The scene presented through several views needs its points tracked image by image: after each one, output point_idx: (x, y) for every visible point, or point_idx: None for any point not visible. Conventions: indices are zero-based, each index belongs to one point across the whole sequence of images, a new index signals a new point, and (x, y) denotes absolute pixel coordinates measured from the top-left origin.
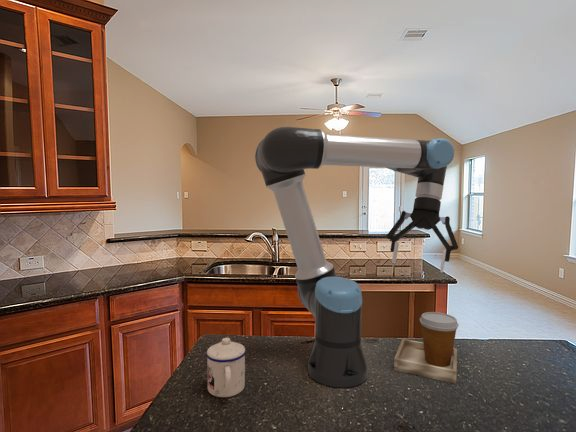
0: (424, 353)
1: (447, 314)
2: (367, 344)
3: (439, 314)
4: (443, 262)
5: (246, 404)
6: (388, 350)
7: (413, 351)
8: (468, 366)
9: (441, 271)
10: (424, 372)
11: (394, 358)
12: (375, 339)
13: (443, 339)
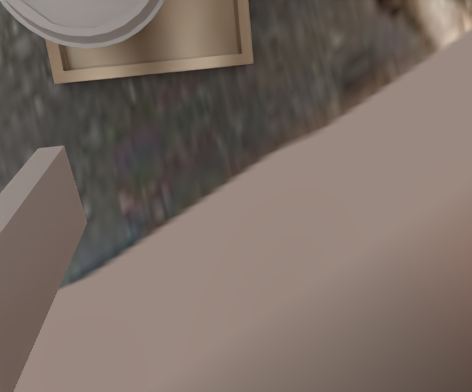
0: (163, 34)
1: (46, 26)
2: (362, 31)
3: (89, 23)
4: (9, 195)
5: None
6: (285, 20)
7: (201, 29)
8: (17, 42)
9: (49, 148)
10: None
11: None
12: (348, 93)
13: None
